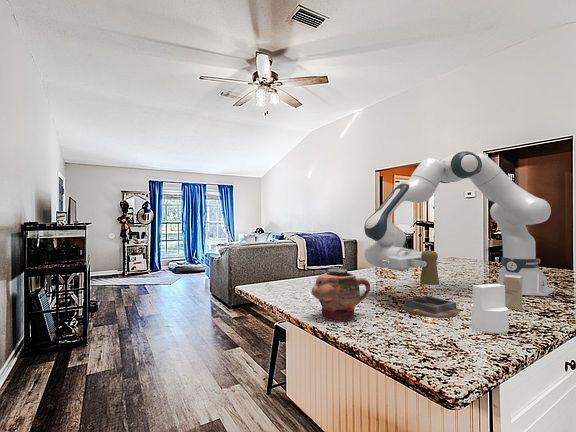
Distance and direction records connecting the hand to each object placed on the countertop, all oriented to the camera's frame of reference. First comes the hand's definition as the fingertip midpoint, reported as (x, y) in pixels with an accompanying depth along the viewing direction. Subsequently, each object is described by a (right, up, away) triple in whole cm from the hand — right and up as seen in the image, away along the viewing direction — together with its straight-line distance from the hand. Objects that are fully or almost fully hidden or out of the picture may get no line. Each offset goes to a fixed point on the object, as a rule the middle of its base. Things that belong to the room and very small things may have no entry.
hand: (431, 263), depth 108 cm
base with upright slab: (+9, -16, -17) cm, 25 cm away
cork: (0, -7, +1) cm, 7 cm away
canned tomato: (-29, -17, +19) cm, 38 cm away
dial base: (0, -16, +1) cm, 16 cm away
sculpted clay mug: (-31, -17, -5) cm, 36 cm away
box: (+29, -16, +2) cm, 33 cm away
